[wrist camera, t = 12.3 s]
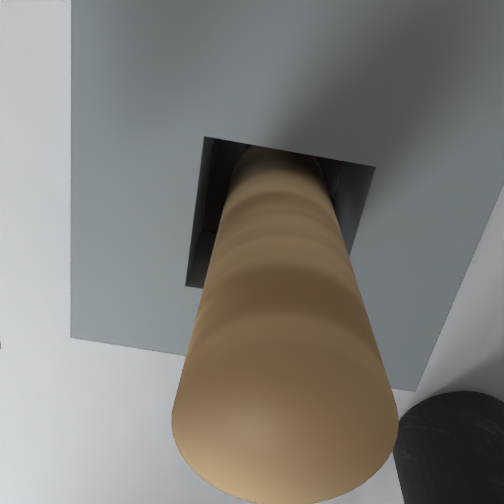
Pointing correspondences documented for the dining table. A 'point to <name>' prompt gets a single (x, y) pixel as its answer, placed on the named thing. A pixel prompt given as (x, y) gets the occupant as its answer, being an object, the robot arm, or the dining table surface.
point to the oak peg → (282, 347)
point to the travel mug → (452, 450)
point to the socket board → (283, 138)
